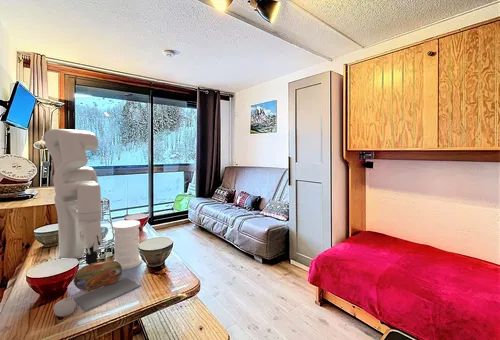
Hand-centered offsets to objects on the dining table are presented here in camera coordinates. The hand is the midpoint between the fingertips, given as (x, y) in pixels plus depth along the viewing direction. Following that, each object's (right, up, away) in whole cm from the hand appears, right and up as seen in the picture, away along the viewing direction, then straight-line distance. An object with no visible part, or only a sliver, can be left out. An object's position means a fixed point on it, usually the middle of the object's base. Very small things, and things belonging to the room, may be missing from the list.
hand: (91, 262), depth 93 cm
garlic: (+4, -9, -19) cm, 21 cm away
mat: (+11, -8, -7) cm, 15 cm away
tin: (+5, -7, -3) cm, 10 cm away
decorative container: (+6, -6, +15) cm, 17 cm away
